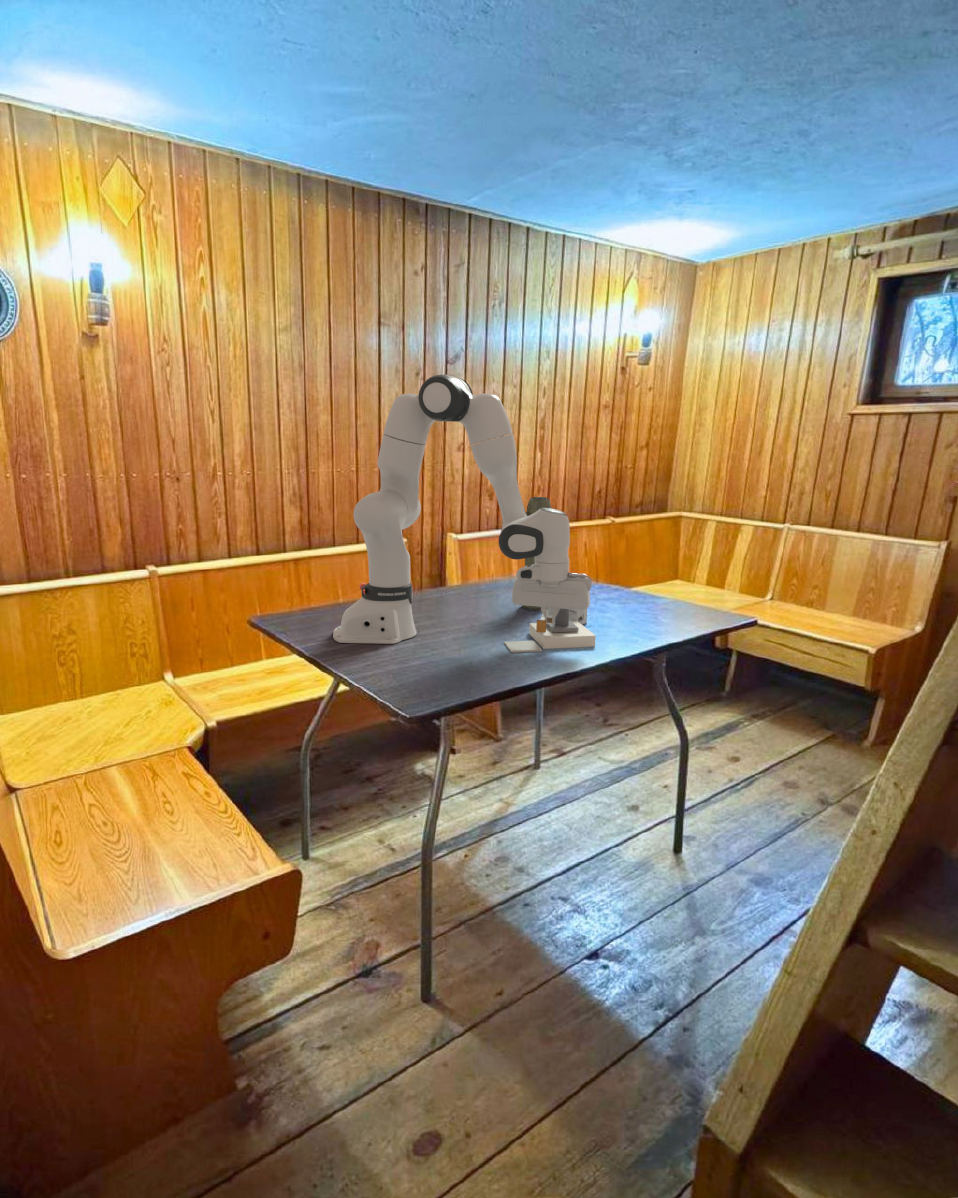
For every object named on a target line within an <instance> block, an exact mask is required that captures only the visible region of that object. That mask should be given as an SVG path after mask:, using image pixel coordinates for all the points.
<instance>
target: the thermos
mask: <svg viewBox="0 0 958 1198" xmlns="http://www.w3.org/2000/svg"><path fill="white" fill-rule="evenodd" d="M540 508H551V509H552V505H551V501H550V499H549V498H548V497H546V496H532V497H531V498H529V500H528V503H527V506H526V511H525V512H526V514H527V515H528V516H530V515H531V514H533V513H535V512H537V511H538V510H539V509H540ZM532 564H535V557H531V558H525V559H524V566H528V565H532ZM521 608H522V609H524V610H528V611H541V607H537V606H525V605H521Z"/></svg>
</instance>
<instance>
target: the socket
mask: <svg viewBox="0 0 958 1198" xmlns="http://www.w3.org/2000/svg"><path fill="white" fill-rule="evenodd" d="M572 623H573V624H575V625H576V626H577V627H578V628H579V629H578V632H552V631H551V630H550V629H549V628H548V627H547V626H546V633H543V632H536V627H537V622H530V623H529V630H528V632H529V633H528V634H529V636H531V637H532V638H533V640H534V641H535V642H536V643H537V645H538V646H539V647H540V648H541V649H542V650H550V649H551V650H552V649H553V650H554V649H572V648H590V647H591V648H594V647H595V646H596V634H594V633H593V632H592V631H590V630H589V629H588V628H586V627H585V626H584V624H583V625H582V624H580V623H579V622H578V621H577V622H572Z"/></svg>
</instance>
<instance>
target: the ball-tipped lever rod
mask: <svg viewBox="0 0 958 1198" xmlns="http://www.w3.org/2000/svg"><path fill="white" fill-rule="evenodd" d="M547 613H548V611H547ZM536 623H537V627H536V632H543V633H546V620H545V617H544V615H543V614H541V616H540V619H536Z"/></svg>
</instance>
